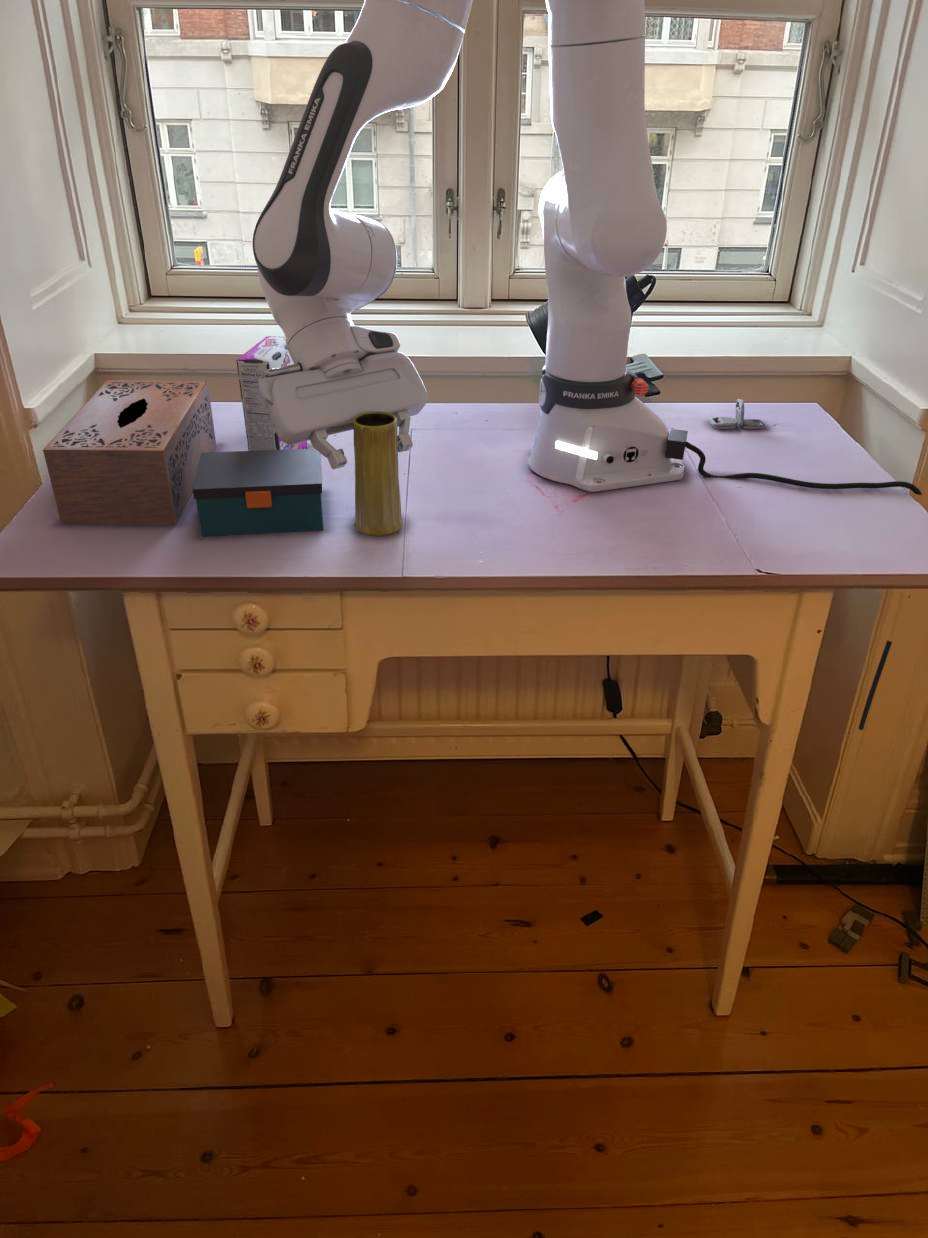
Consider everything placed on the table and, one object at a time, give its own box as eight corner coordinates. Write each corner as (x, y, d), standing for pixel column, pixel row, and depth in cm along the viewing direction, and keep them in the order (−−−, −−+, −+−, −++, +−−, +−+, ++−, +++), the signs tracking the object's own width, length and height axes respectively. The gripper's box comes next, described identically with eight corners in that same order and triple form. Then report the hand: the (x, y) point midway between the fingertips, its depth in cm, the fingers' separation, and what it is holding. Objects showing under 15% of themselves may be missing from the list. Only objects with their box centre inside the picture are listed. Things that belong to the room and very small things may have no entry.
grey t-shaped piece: (713, 429, 149) (717, 403, 146) (708, 422, 151) (712, 397, 149) (765, 428, 149) (770, 403, 147) (759, 422, 152) (764, 396, 149)
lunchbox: (323, 491, 127) (320, 446, 123) (325, 532, 116) (321, 485, 113) (207, 496, 125) (201, 451, 121) (199, 539, 114) (191, 491, 111)
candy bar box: (277, 443, 141) (266, 334, 132) (308, 446, 140) (299, 336, 131) (248, 472, 131) (234, 357, 123) (281, 475, 131) (270, 360, 122)
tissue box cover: (119, 445, 139) (106, 380, 133) (216, 446, 139) (207, 380, 134) (61, 523, 117) (42, 449, 112) (176, 524, 118) (163, 450, 112)
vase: (412, 525, 118) (410, 418, 111) (377, 541, 115) (372, 432, 107) (380, 510, 122) (376, 405, 114) (344, 525, 118) (338, 418, 110)
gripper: (259, 358, 107) (305, 465, 106) (407, 331, 117) (451, 429, 116) (246, 385, 112) (290, 487, 111) (389, 357, 123) (431, 451, 121)
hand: (373, 457), depth 113 cm, fingers open, 8 cm apart
